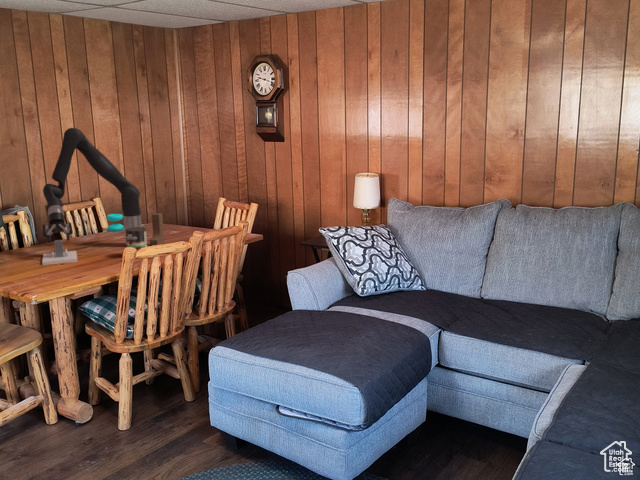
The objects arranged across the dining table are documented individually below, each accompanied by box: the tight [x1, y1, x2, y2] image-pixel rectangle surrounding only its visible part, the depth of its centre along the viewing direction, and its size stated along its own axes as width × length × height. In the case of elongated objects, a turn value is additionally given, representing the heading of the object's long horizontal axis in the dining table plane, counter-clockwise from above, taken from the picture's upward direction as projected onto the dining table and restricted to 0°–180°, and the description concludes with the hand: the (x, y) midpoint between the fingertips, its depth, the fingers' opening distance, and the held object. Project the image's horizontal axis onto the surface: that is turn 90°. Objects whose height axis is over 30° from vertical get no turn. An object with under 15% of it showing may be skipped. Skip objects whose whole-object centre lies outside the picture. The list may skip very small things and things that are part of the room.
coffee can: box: [126, 227, 148, 250], centre depth 313 cm, size 10×10×14 cm
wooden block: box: [149, 212, 165, 247], centre depth 333 cm, size 9×4×18 cm, turn 169°
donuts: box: [106, 213, 125, 232], centre depth 382 cm, size 10×10×10 cm
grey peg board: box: [42, 248, 78, 266], centre depth 308 cm, size 20×16×4 cm
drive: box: [54, 239, 64, 258], centre depth 307 cm, size 5×4×8 cm
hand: (58, 241), depth 307 cm, fingers open, 8 cm apart
